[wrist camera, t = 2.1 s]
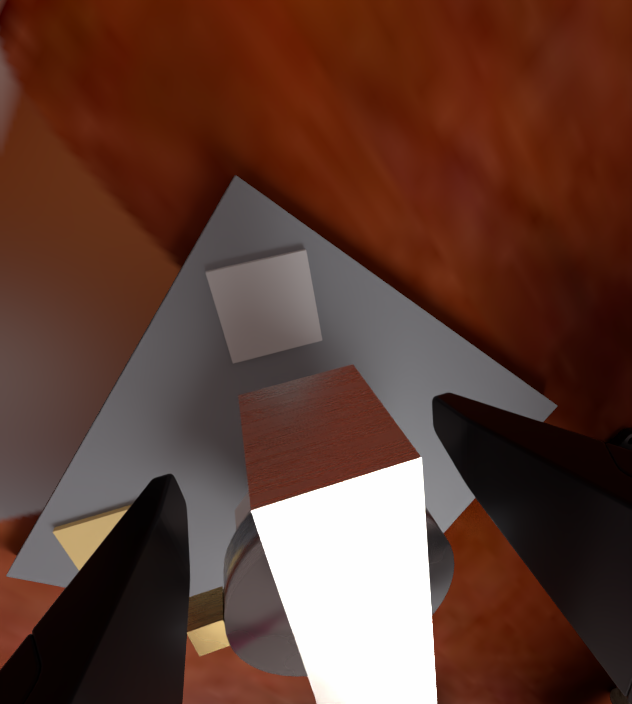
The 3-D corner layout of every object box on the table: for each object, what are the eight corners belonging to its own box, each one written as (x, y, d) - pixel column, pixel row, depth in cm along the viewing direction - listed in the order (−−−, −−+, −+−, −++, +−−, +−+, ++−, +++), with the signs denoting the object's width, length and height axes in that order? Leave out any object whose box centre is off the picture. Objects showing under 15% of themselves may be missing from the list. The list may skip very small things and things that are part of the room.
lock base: (544, 396, 18) (620, 448, 14) (342, 624, 21) (366, 709, 18) (234, 175, 11) (243, 175, 8) (16, 556, 15) (-43, 670, 11)
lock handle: (435, 644, 16) (508, 799, 12) (253, 714, 15) (267, 909, 11) (415, 314, 10) (561, 413, 6) (92, 397, 9) (-15, 593, 5)
